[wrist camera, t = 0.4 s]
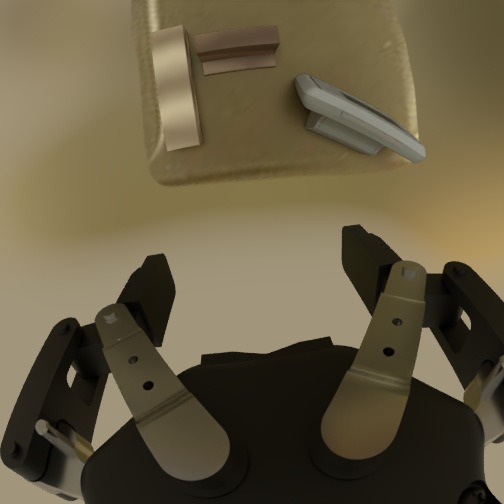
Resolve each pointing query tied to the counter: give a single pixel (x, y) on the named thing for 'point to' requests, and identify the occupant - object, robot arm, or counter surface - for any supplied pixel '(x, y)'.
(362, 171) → the counter surface
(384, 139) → the digital clock
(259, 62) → the walnut ridge
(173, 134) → the beige long bar
